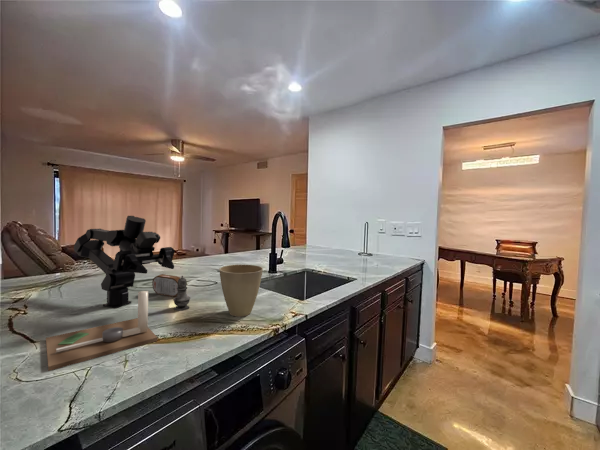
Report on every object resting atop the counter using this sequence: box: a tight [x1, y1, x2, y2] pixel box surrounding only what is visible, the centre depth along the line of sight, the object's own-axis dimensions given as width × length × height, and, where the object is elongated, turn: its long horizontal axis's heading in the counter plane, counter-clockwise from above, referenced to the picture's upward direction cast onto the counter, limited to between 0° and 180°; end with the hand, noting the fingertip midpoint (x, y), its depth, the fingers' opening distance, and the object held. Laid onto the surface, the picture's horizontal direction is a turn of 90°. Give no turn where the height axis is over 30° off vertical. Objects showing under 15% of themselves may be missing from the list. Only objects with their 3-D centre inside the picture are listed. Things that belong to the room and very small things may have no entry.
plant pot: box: [219, 263, 264, 318], centre depth 95 cm, size 15×15×16 cm
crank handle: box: [56, 290, 149, 352], centre depth 70 cm, size 19×4×11 cm, turn 135°
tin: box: [151, 273, 181, 298], centre depth 113 cm, size 15×3×8 cm, turn 71°
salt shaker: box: [172, 275, 191, 312], centre depth 98 cm, size 6×6×12 cm
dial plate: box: [45, 317, 158, 372], centre depth 72 cm, size 22×18×1 cm
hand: (160, 269), depth 87 cm, fingers open, 9 cm apart
